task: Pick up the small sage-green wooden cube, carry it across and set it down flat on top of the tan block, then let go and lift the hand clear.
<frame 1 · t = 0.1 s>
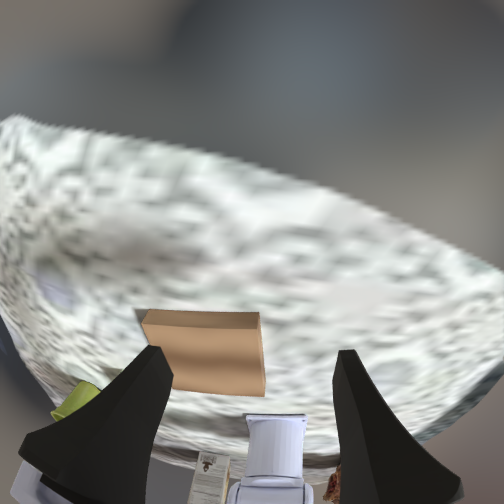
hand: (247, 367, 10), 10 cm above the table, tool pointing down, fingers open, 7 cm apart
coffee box: (216, 458, 44), on the table
plant pot: (95, 390, 35), on the table
seed pod: (354, 456, 39), on the table
tan block: (212, 346, 25), on the table
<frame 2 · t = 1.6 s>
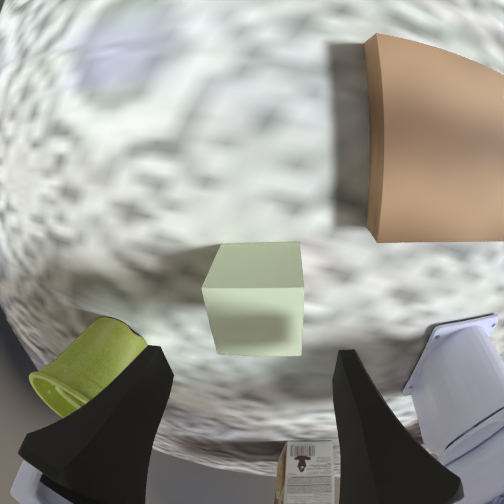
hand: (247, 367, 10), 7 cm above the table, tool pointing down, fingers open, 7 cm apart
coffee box: (303, 449, 30), on the table
plant pot: (122, 339, 21), on the table
sage cube: (262, 275, 16), on the table
tan block: (444, 143, 11), on the table
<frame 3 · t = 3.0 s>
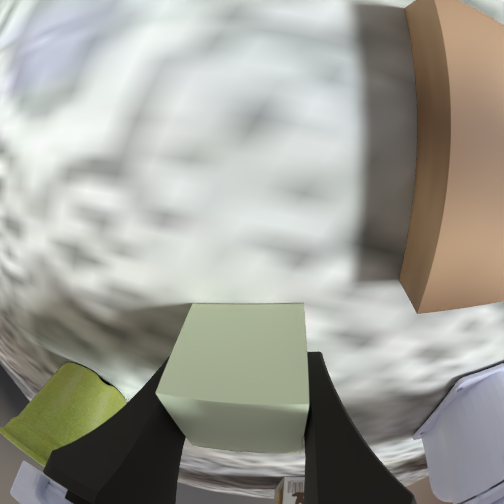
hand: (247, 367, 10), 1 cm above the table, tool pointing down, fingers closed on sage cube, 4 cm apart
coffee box: (301, 481, 25), on the table
plant pot: (95, 384, 17), on the table
sage cube: (251, 342, 11), on the table, touching gripper
tan block: (503, 162, 7), on the table
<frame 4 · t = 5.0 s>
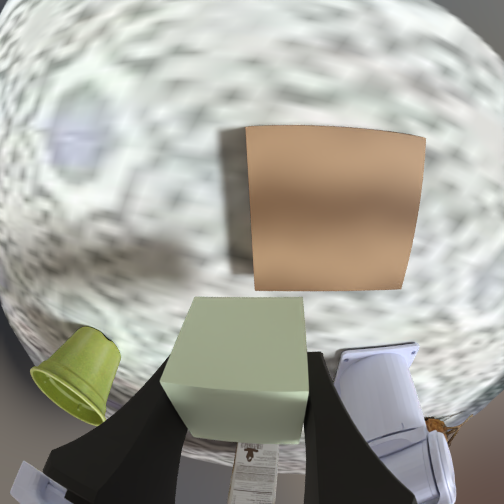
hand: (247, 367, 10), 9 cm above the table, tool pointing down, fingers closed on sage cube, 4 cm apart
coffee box: (257, 443, 35), on the table
plant pot: (99, 343, 26), on the table
sage cube: (251, 335, 12), point 8 cm above the table, touching gripper
seed pod: (417, 428, 32), on the table
tan block: (332, 203, 17), on the table
when the fingers open (5 cm above the table, at t = 7.1 s): sage cube drops 1 cm, resting on tan block.
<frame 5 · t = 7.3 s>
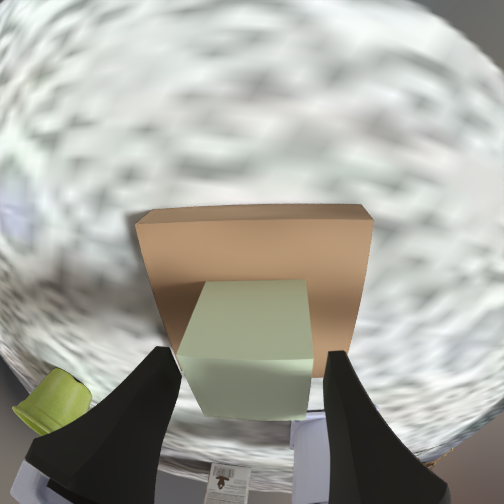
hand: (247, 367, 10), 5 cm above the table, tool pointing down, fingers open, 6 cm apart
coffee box: (231, 469, 33), on the table
plant pot: (72, 382, 25), on the table
sage cube: (258, 318, 13), point 2 cm above the table, touching tan block
tan block: (259, 288, 15), on the table, touching sage cube
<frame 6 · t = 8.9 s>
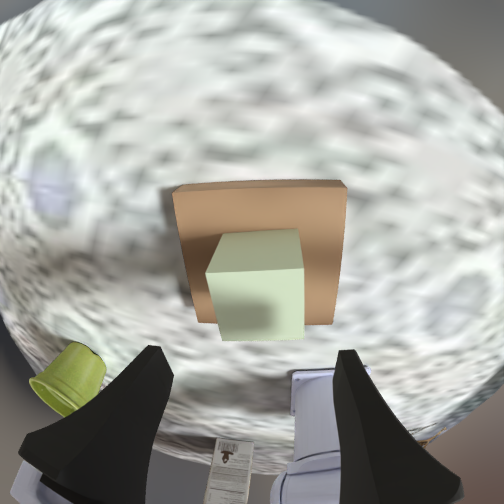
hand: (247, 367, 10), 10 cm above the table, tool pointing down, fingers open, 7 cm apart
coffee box: (235, 446, 37), on the table
plant pot: (88, 356, 29), on the table
sage cube: (263, 263, 17), point 2 cm above the table
tan block: (263, 248, 19), on the table
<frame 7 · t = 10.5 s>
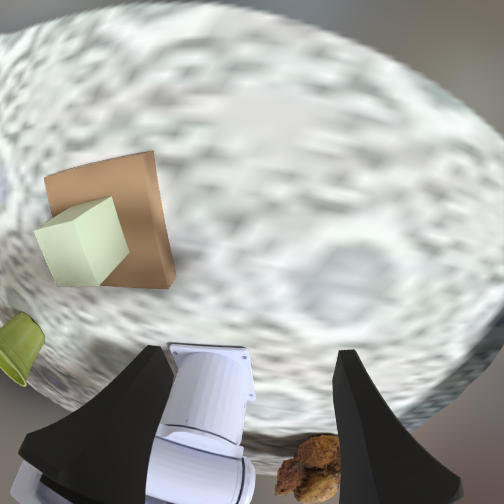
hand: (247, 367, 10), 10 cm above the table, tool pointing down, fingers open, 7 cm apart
plant pot: (32, 326, 30), on the table
sage cube: (98, 228, 18), point 2 cm above the table
seed pod: (322, 441, 35), on the table
tan block: (114, 218, 20), on the table
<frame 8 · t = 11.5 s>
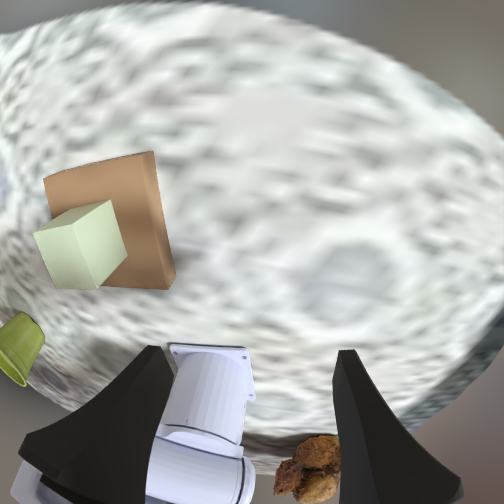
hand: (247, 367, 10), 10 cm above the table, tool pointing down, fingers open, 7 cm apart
plant pot: (32, 326, 30), on the table
sage cube: (97, 231, 18), point 2 cm above the table
seed pod: (321, 442, 35), on the table
tan block: (114, 218, 20), on the table
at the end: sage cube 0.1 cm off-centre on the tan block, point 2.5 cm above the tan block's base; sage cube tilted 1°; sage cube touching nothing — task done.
